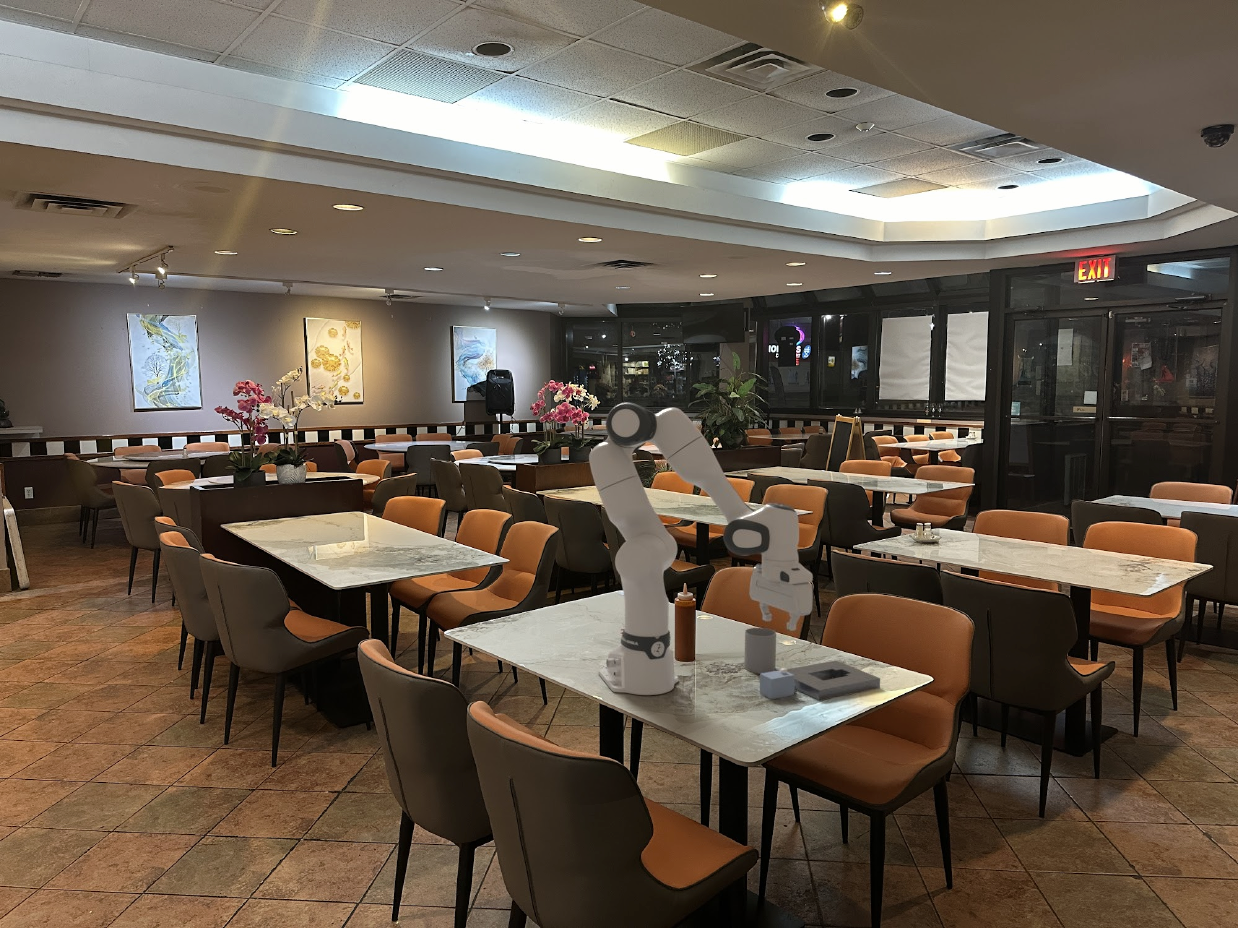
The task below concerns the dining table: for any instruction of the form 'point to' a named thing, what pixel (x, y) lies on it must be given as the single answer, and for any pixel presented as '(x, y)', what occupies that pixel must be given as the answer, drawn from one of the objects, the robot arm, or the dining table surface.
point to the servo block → (777, 684)
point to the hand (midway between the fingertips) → (778, 625)
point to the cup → (760, 650)
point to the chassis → (832, 680)
